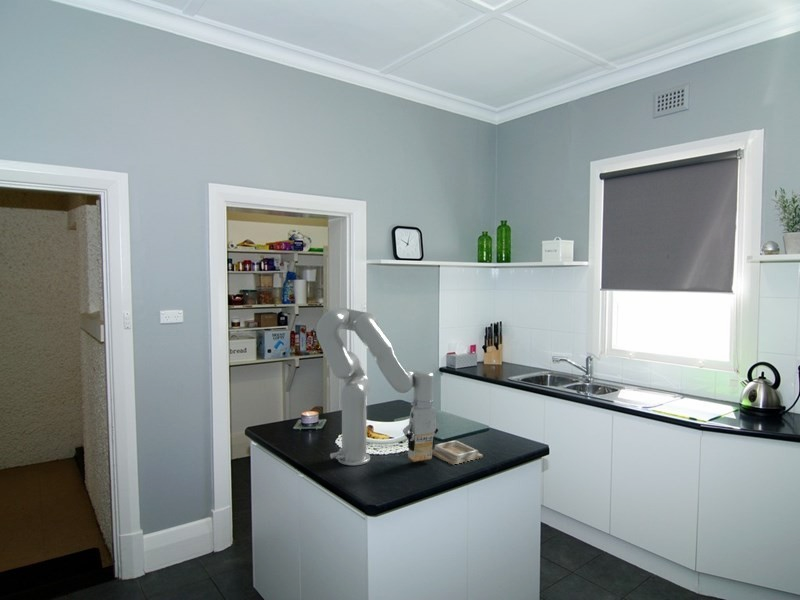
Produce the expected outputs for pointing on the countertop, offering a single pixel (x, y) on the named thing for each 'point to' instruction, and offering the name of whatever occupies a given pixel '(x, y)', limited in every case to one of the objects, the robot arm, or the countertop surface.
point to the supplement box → (421, 447)
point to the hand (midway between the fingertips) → (421, 447)
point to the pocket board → (455, 452)
